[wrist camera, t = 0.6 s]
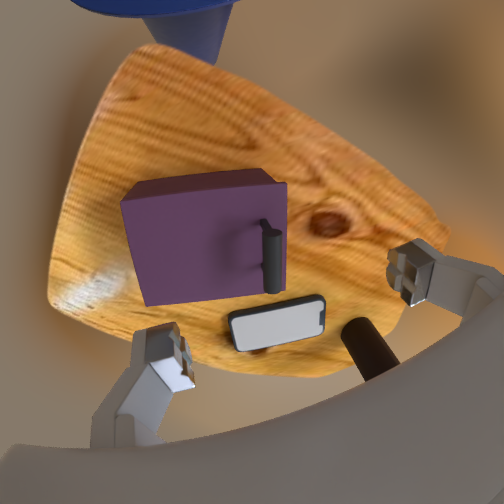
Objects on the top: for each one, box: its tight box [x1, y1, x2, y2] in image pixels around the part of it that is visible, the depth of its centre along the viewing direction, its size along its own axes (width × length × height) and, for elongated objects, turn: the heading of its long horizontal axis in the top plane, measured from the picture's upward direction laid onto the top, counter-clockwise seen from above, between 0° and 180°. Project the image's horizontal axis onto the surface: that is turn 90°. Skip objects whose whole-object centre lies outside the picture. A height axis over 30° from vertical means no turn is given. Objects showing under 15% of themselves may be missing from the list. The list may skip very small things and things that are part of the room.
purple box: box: [123, 168, 276, 199], centre depth 33 cm, size 16×13×8 cm
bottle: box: [341, 317, 401, 382], centre depth 42 cm, size 7×7×20 cm
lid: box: [120, 182, 287, 307], centre depth 27 cm, size 16×13×6 cm
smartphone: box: [228, 295, 326, 352], centre depth 46 cm, size 9×2×16 cm
